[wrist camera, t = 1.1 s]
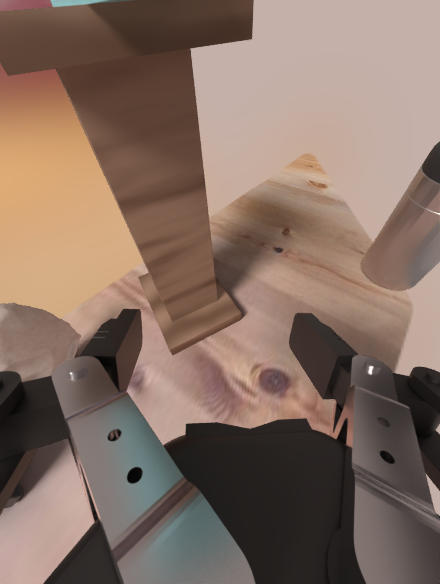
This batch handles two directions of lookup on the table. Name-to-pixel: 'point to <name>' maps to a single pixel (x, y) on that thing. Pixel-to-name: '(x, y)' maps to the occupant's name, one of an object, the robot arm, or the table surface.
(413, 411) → the robot arm
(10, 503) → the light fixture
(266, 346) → the table surface
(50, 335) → the stone tool
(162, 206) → the walnut stand
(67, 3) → the teal bar
